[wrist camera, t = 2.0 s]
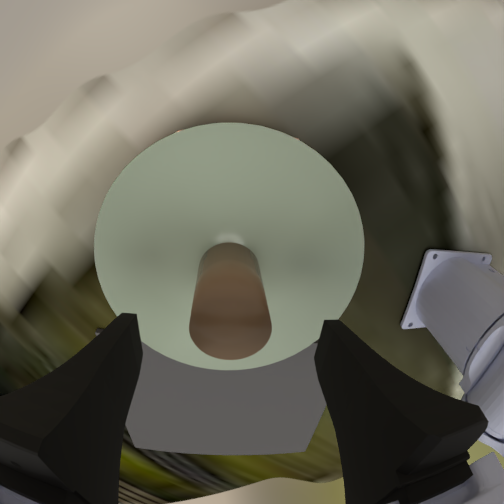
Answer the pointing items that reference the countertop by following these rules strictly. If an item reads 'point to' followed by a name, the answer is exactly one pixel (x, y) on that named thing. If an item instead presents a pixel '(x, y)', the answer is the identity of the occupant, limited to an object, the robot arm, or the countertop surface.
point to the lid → (229, 245)
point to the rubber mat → (225, 406)
